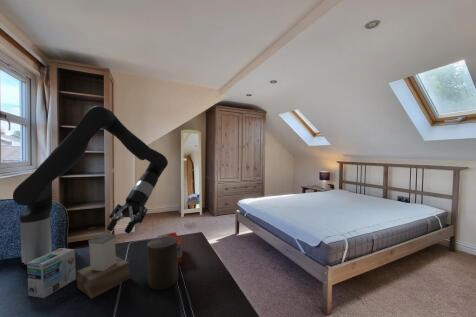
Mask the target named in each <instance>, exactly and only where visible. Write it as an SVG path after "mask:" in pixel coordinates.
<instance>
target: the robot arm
mask: <svg viewBox="0 0 476 317" xmlns="http://www.w3.org/2000/svg"><path fill="white" fill-rule="evenodd" d="M101 129H103V130H105V131H107V132H108V133H110V134H112V136H114V137H115V138H116V139H118V140H119V141H120V142H121V144H122V145H123V146H124V147H125V148H126V149H127V151H129V152H130V154H132V155H133V156H135V157H136V158H137V159H139V161H145V160H146V161H147V162H149V164H148V165H147V167H146V169H145V172H144V173H142V175H141V177H140V178H139V179H138V181H137V182H136V183H135V185H134V186H133V187H132V189H131V190H130V192H129V194H128V195H127V197H126V198H125V203H124V204H123V205H121V204H119V203H118V204H117V205H116V206H115V208H114V209H113V210H112V212H111V213H110V214H109V216H108V217H109V219H111V220H110V221H109V223H108V224H107V226H106V230H107V231H108V232H112V231H113V230H114V229H115V227H116V225H117V224H118V222H119V221H120V220H123V219H125V218H129V219H130V221H129V222H128V224H127V226H126V227H125V229H124V232H125V233H126V234H129V235H130V233H132V231H133V229H134V228H135V225H137V224H141V223H142V222H143V221H144V219H145V217H146V214H147V212H148V211H149V209H148V208H147V207H146V204H147V202H148V200H149V199H150V197H151V195H152V193H153V191H154V189H155V186H156V185H157V183H158V181H159V178H160V176H162V173H163V172H164V170H165V169H167V167H168V164H169V161H168V159H167V157H166V156H165V155H164V154H162V153H161V152H159V151H157V150H155V149H153V148H151V147H149V145H147V144H146V143H145V142H144V141H143V140H142V139H140V138H139V137H138V136H137V135H136V134H134V133H133V132H132V131H130V130H129V129H128V128H127V127H126V126H125V125H124V124H123V123H122V121H120V120H119V118H118V117H117V116H116V115H115V114H114V112H113V111H111V110H110V109H108V108H106V107H104V106H100V105H95V106H93V107H91V108H90V107H89V109H88V110H87V111H86V112H85V113H84V115H83V117H82V118H81V119H80V120H79V121H78V123H77V125H76V126H75V127H74V128H73V130H72V131H71V132H69V134H68V135H67V136H66V137H65V138H64V139H63V140H62V141H61V142H60V143H59V144H58V145H57V146H56V147H55V148H54V150H52V152H51V153H50V154H48V156H47V157H46V158H45V160H44V161H42V163H41V164H40V165H39V166H38V167H37V169H36V170H34V171H33V172H32V173H31V174H30V175H29V176H28V177H26V179H24V180H23V181H22V182H20V183H19V185H17V186H16V188H15V189H14V190H13V193H12V201H14V203H15V204H16V205H19V206H25V207H26V209H25V210H24V211H23V213H21V214H20V216H19V228H20V252H21V255H20V256H21V264H22V263H24V264H23V265H27V262H30V261H32V260H34V259H37V258H39V257H41V256H44V255H46V254H48V253H51V252H53V250H52V248H53V247H52V233H51V232H52V230H51V227H52V226H51V212H52V209H53V190H52V187H51V185H50V184H51V183H52V182H53V181H55V180H56V179H57V178H58V177H61V176H62V175H64V174H65V173H66V172H67V171H69V170H70V169H72V168H73V167H74V166H75V165H76V164H77V163H78V162H79V160H80V159H82V157H83V156H85V153H86V150H87V148H88V145H89V143H90V141H91V139H92V138H93V137H94V136H95V135H96V134H97V133H99V131H100V130H101Z"/></svg>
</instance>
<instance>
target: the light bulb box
mask: <svg viewBox="0 0 476 317" xmlns="http://www.w3.org/2000/svg"><path fill="white" fill-rule="evenodd" d="M26 269H27V288H28V289H27V292H28V297H34V298H40V299H45V298H47V297H48V296H51V295H52V294H53V293H55V292H57V291H58V290H60V289H61V288H63V287H66V286H67V285H69V284H70V283H72V282H73V281H75V280H77V279H76V278H77V271H76V250H75V249H70V248H62V247H59V248H58V249H56V250H52V252H51V253H48V254H46V255H44V256H41V257H39V258H37V259H34V260H32V261H30V262H27V264H26Z"/></svg>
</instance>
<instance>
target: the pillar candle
mask: <svg viewBox="0 0 476 317" xmlns="http://www.w3.org/2000/svg"><path fill="white" fill-rule="evenodd" d="M146 246H147V248H146V249H147V285H148V287H149V288H150V290H155V291H161V290H166V289H169V288H171V287H173V286H174V285H175V284H176V283H177V282H178V280H179V264H178V260H177V239H176V238H174V237H161V238H157V237H156V238H153V239H151V240H149V241H148V243H147V245H146Z"/></svg>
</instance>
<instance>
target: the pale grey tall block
mask: <svg viewBox="0 0 476 317" xmlns="http://www.w3.org/2000/svg"><path fill="white" fill-rule="evenodd" d="M88 245H89V266H90V268H91V270H96V271H105V270H106V269H108V268H109V267H111V266H112V265H114V264H115V263H116V257H117V254H116V234H109V233H107V234H106V233H101V234H100V235H97V236H95V237H93V238H90V239H88Z"/></svg>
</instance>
